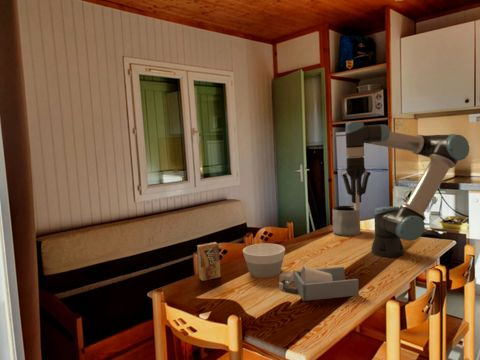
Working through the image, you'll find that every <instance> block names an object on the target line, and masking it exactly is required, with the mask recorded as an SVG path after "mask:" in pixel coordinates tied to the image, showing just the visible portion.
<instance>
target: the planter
mask: <svg viewBox="0 0 480 360" xmlns="http://www.w3.org/2000/svg"><path fill="white" fill-rule="evenodd" d="M360 212H361V209H360V210H357V211H356V210H354V205H337V206H334V207H332V232H333V234H335V235H338V236H341V237H342V236H344V237H352V236H358V235H359V234H360V233H361V215H360V214H361V213H360Z"/></svg>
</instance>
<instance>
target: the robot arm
mask: <svg viewBox="0 0 480 360" xmlns="http://www.w3.org/2000/svg"><path fill="white" fill-rule="evenodd" d="M365 144H367V145H368V144H369V145H375V146H379V147H380V146H381V147H386V148H392V149H396V150H397V149H399V150H403V151H409V152H411V153H412V154H413V155H419V156H423V157H427V158H429V159H430V162H429V163H428V165H427V167H426V168H425V170H424V171H423V173H422V175H421V176H420V179H419V180H418V182H417V184H416V185H415V187H414V189H413V191H412V193H411V195H410V196H409V197H408V199H407V201H406V203H405V204H402V205H400V206H396V205H395V206H392V205H391V206H381V207H376V208H375V209H374V212H373V213H374V214H373V217H374V239H373V242H372V244H371V248H370V249H371V253H372V254H373V255H376V256H379V257H384V258H385V257H387V258H388V257H389V258H390V257H391V258H392V257H396V258H397V257H400V256H402V255H403V256H404V254H405V249H404V245H403V243H402V240H404V241H405V240H406V241H416V240H417V239H419V238H420V237H421V236H422V235H424V232H425V229H426V226H425V221H424V220H425V219H426V216H425V212H426V210H427V208H428V207H429V205H430V203H431V201H432V200H433V198H434V196H435V195H436V193H437V191H438V189H439V187H440V185H441V184H442V183H443V181H444V179H445V177H446V175H447V173H448V171H449V170H450V169H454V168H455V167H456V165H457V163H458V162H459V161H462V160H464V159H466V158H467V157H468V155H469V153H470V145H469V141H468V140H467V138H466V137H465V136H463V135H461V134H456V133H455V134H454V133H451V134H432V135H431V134H430V135H426V134H425V135H424V134H423V135H422V134H416V135H411V134H405V133H401V132H395V131H394V132H393V131H391V129H390V128H389V126H388V125H387V124H370V125H365V124H364V121H361V120H360V121H349V122H346V123H345V146H346V148H345V153H346V159H345V160H346V169H345V172H342V173H341V174H340V176H341V177H342V179H343V182H344V187H345V189H346V193H347V195H349V196H351V203H353V206H354V210H356V211H357V210H360V211H361V209H360V208H361V206H360V203H362V196H363V195H365V194H366V190H367V187H368V181H369V178H370V176H371V172H370V171H368V170H366V168H365V157H364V156H365ZM348 176H349V177H350V178H348ZM349 179H350V180H349ZM401 239H402V240H401Z"/></svg>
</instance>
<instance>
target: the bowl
mask: <svg viewBox="0 0 480 360" xmlns="http://www.w3.org/2000/svg"><path fill="white" fill-rule="evenodd" d="M242 254H243V256H244V259H245V263H246V266H247V269H248V272H249V275H250V276H252V277H254V278H261V279H263V278H264V279H266V278H267V279H268V278H273V277H276V276H279V275H280V274H281V271H282V267H283V263H284V259H285V255H286V248H285V246H284V245H281V244H277V243H256V244H255V243H254V244H252V245H251V244H250V245H247V246H245V247H243V249H242Z"/></svg>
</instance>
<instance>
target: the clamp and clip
mask: <svg viewBox="0 0 480 360" xmlns="http://www.w3.org/2000/svg"><path fill="white" fill-rule="evenodd" d="M278 276H279V282H278V289H280V291H284V289H283V283H281V282H282V281H283V280H287V281H285V284H286V285H287V286H288V287H291V285H290V284H291V283H293V272H288V271H283V272H282V273H280V274H279V275H278Z"/></svg>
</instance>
